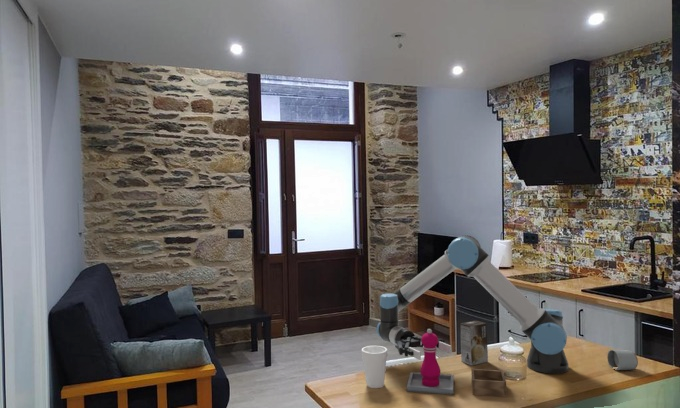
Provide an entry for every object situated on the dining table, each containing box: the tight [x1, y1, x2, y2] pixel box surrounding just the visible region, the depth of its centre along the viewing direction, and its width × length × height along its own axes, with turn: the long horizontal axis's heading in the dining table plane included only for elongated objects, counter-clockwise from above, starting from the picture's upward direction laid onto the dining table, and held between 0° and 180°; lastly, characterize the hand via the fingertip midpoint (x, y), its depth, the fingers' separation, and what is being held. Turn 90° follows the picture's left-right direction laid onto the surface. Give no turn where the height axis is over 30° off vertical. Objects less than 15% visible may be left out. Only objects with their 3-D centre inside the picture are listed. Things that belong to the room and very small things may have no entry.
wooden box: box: [471, 368, 507, 398], centre depth 166 cm, size 11×11×5 cm
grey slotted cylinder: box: [606, 349, 639, 371], centre depth 183 cm, size 11×8×8 cm
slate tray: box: [406, 372, 455, 396], centre depth 171 cm, size 16×14×2 cm
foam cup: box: [361, 345, 388, 389], centre depth 172 cm, size 10×9×13 cm
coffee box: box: [459, 320, 489, 366], centre depth 194 cm, size 9×6×16 cm
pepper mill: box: [419, 328, 442, 387], centre depth 171 cm, size 7×7×20 cm
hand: (435, 352), depth 168 cm, fingers open, 13 cm apart
